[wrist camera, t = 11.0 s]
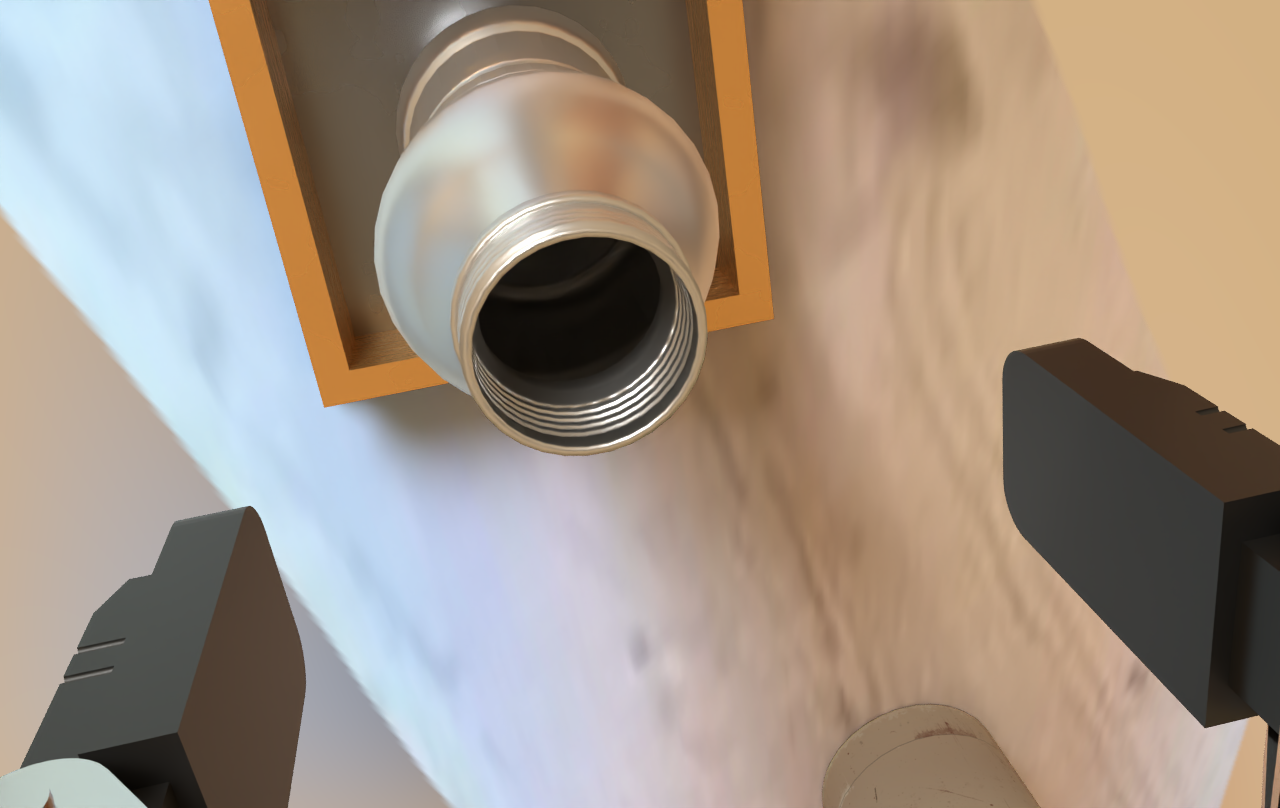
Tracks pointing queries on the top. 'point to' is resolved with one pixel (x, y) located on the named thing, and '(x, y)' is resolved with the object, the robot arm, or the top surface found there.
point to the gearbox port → (368, 152)
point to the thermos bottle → (923, 764)
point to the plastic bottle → (546, 234)
